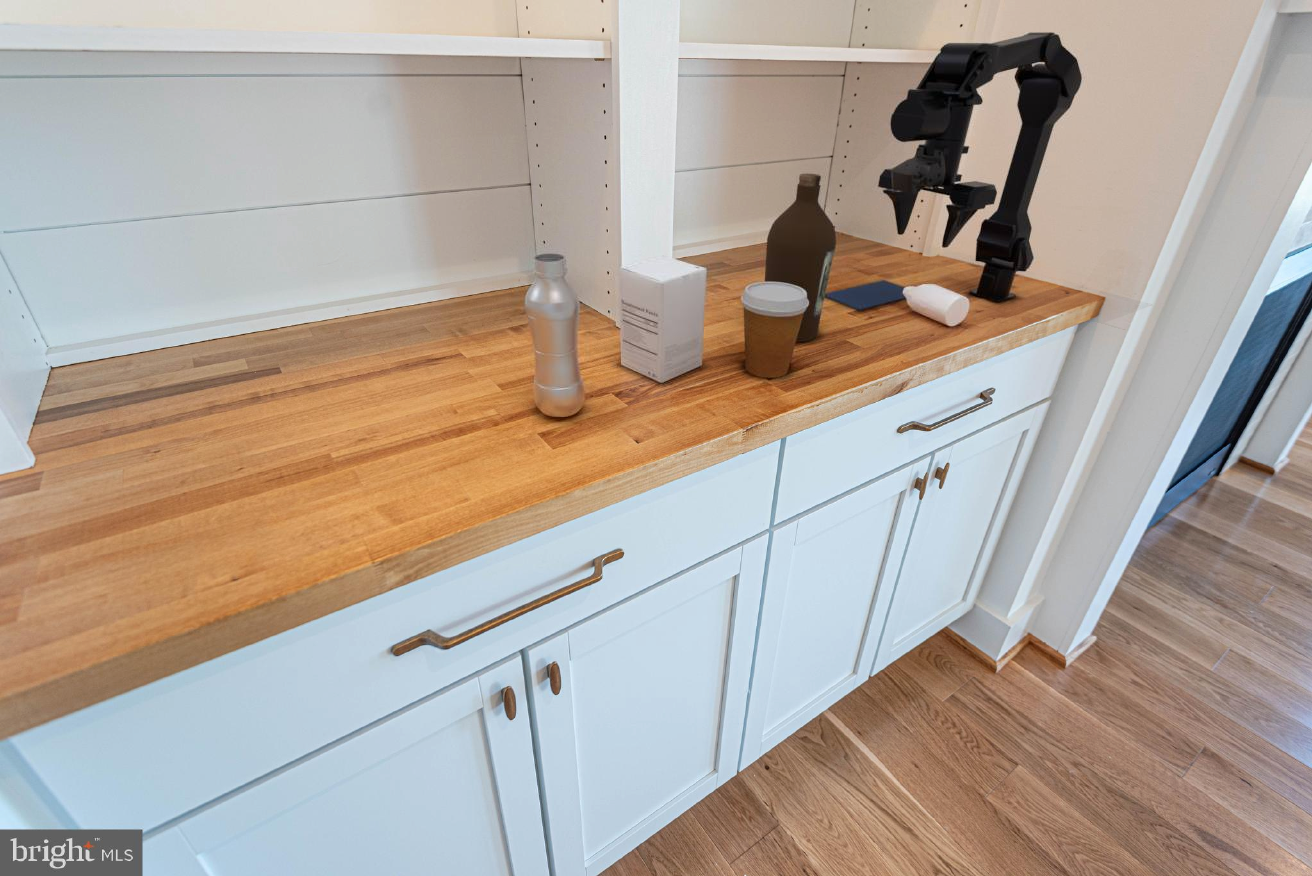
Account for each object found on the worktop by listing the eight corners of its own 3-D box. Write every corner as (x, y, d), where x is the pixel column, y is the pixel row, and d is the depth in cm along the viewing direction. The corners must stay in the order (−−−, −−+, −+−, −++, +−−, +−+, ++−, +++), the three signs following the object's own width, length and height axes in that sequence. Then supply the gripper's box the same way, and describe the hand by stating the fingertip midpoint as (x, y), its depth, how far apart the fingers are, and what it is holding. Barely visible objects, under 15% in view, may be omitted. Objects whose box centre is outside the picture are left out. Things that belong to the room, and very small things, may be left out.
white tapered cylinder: (913, 302, 122) (920, 274, 119) (965, 323, 113) (974, 293, 110) (890, 307, 119) (897, 278, 116) (941, 329, 110) (950, 297, 107)
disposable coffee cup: (779, 389, 89) (790, 307, 83) (722, 370, 94) (728, 292, 88) (809, 367, 96) (821, 289, 90) (754, 350, 101) (762, 276, 94)
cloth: (883, 281, 133) (883, 280, 133) (921, 294, 126) (922, 293, 126) (822, 295, 124) (822, 294, 124) (859, 310, 118) (859, 308, 117)
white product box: (661, 348, 101) (663, 253, 93) (703, 366, 95) (709, 267, 88) (618, 364, 95) (617, 265, 87) (660, 384, 90) (663, 281, 82)
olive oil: (754, 340, 104) (771, 178, 91) (760, 318, 113) (777, 167, 100) (820, 347, 102) (847, 183, 89) (821, 324, 111) (846, 171, 98)
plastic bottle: (564, 428, 79) (554, 269, 68) (523, 413, 82) (507, 259, 72) (595, 407, 84) (590, 256, 73) (556, 394, 87) (545, 246, 76)
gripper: (863, 134, 101) (846, 233, 110) (962, 149, 88) (934, 261, 96) (911, 131, 106) (892, 226, 114) (1013, 144, 92) (982, 252, 101)
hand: (922, 240), depth 106 cm, fingers open, 9 cm apart
